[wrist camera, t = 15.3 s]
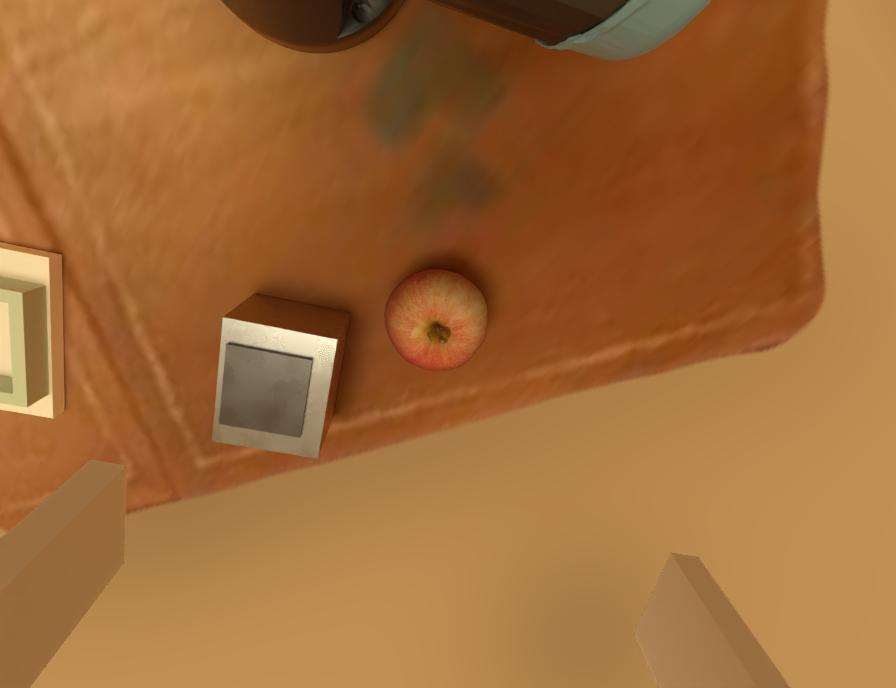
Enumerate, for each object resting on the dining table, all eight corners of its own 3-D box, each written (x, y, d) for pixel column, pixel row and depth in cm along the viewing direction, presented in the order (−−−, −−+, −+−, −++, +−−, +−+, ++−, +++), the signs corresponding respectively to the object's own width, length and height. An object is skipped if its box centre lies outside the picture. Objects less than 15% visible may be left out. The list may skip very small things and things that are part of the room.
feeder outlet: (254, 293, 42) (220, 318, 35) (350, 312, 43) (336, 341, 36) (243, 400, 45) (210, 443, 38) (332, 416, 46) (316, 461, 39)
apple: (497, 329, 44) (512, 363, 36) (414, 365, 45) (412, 405, 37) (460, 244, 41) (469, 261, 34) (373, 284, 42) (362, 309, 35)
